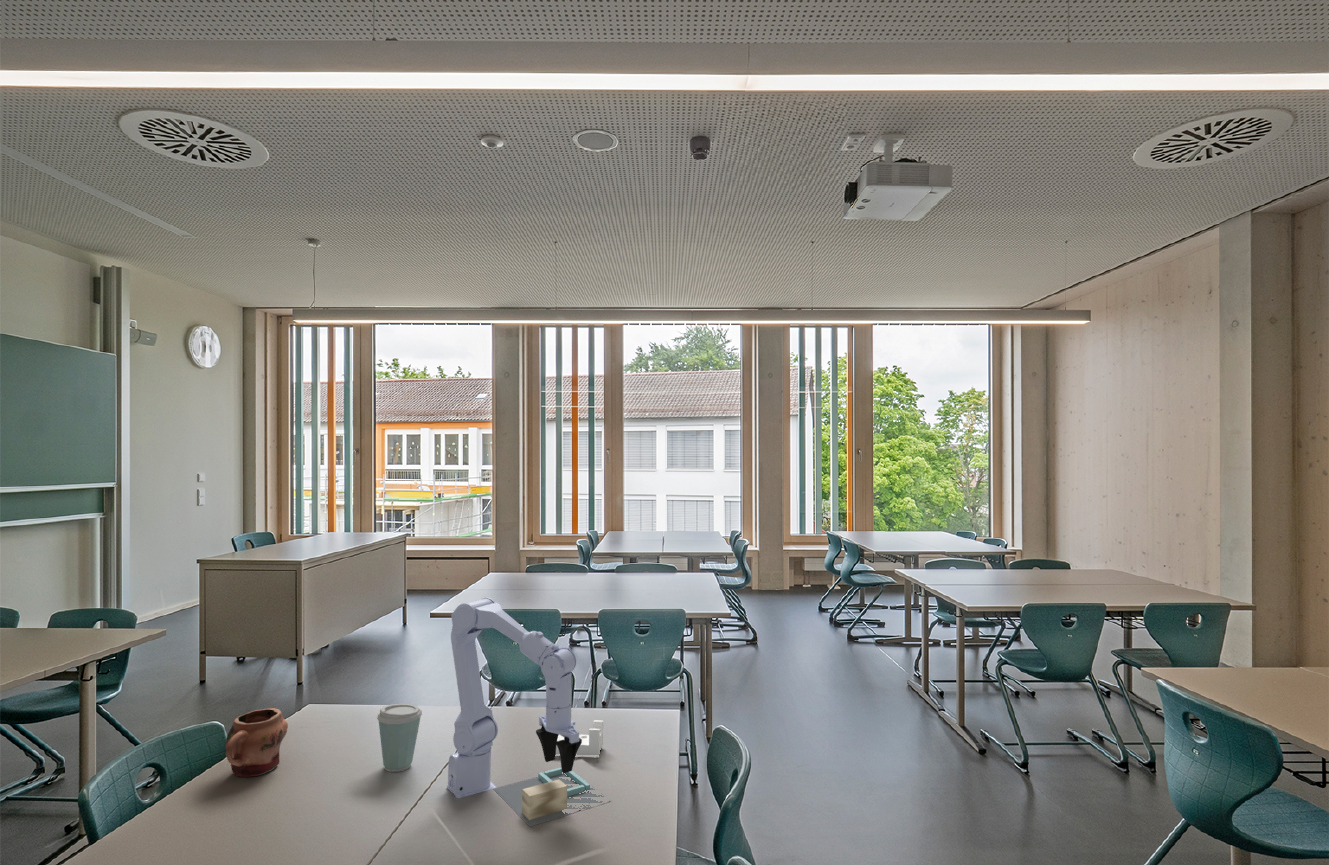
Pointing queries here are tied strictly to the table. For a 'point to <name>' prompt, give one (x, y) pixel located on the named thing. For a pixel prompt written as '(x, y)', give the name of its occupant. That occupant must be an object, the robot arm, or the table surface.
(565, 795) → the birch block
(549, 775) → the teal frame
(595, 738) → the bracket
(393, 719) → the disposable coffee cup
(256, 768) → the decorative planter
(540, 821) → the rubber mat
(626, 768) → the table surface
